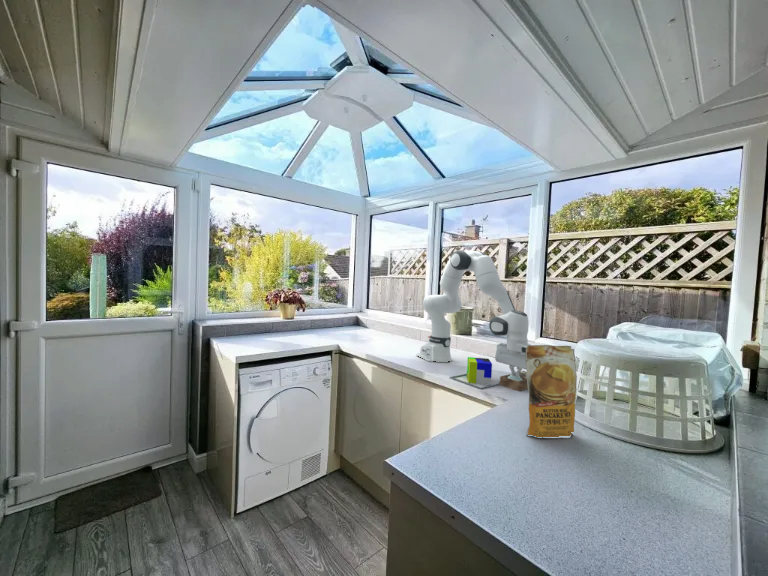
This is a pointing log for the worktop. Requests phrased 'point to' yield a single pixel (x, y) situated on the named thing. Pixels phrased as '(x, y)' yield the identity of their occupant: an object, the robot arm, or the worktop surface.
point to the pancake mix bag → (551, 390)
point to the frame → (471, 384)
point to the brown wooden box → (515, 382)
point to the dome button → (514, 378)
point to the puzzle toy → (479, 371)
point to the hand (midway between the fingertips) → (515, 375)
